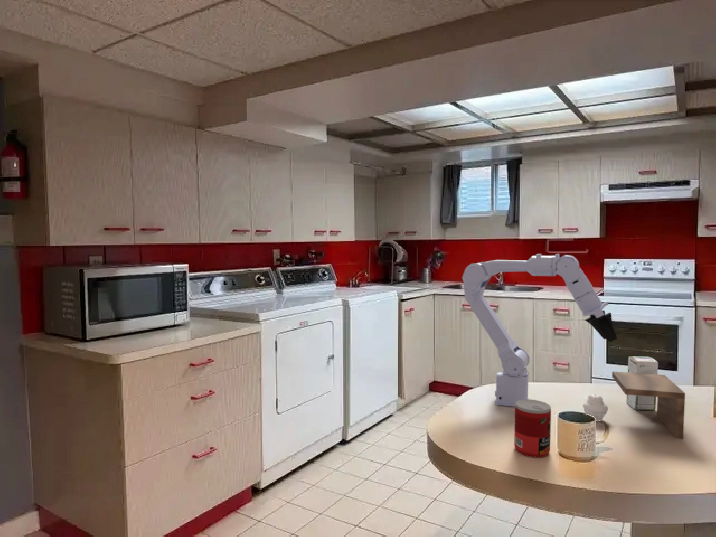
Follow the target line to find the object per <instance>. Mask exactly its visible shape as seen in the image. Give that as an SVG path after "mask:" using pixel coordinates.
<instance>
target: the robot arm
mask: <svg viewBox="0 0 716 537" xmlns="http://www.w3.org/2000/svg"><path fill="white" fill-rule="evenodd" d="M502 272H503V273H505V272H506V273H507V272H527V273H529V274H530V275H531V276H532V277H537V276H538V277H556V276H557V275H558V276H560V277H561V278H562V279H563V281H564V283H565V287H567V289H568V291H569V292H570V295H571V296H572V298H573V300H574V301H575V303H576V305H577V306H578V308H579V310H580V312H581V315H582V316H583V317H587V316H589V317H588V318H586V319H584V321H585V322H587V323H588V324H589V325H590V326H592V327H593V328H594V329H595V331H596V332H597V333H598V334H599V336H600V337H601V338H603V340H607V342H609V343H611V342H613V341H616V340H618V338H617V333H616V331H615V328H614V324H613V321H612V313H611V312H608V313H606V311H605V310H603V309H604V308H606V306H608V305H609V303H608V302H607V301H606V302H603V303H602V300H601V298H600V297H599V296H598V294H597V292H596V290H595V289H594V287H593V286H592V283H591V282H590V280H589V279H588V277H587V275H586V274H585V273H584V271H583V270H582V269H581V267H580V263H579V260H578V258H576V257H575V256H573V255H570V254H569V255H567V254H565V255H564V254H563V255H562V256H561V257H560V253H556V254H555V255H542V253H537V254H535V255H532V256H531V257H530V258H529V259H528V260H513V259H512V260H509V259H495V260H488V261H481V262H479V261H478V262H477V263H470V264H469V265H468V266H466V267H465V269H464V271H463V275H462V278H461V279H462V280H463V288H464V298H465V300H466V302H467V304H468V305H469V307H470V308H471V310H472V312H473V313H474V315H475V317H476V318H477V319H478V321H479V323H480V324H481V326H482V327H483V329H484V330H485V332H486V333H487V335H488V337H490V339H491V340H492V343H493V344H494V346H495V347H496V350H497V355H498V357H499V359H500V361H501V367H502V369H503V370H502V371H499V372H496V376H495V378H496V379H495V380H496V381H495V385H496V387H495V390H494V397H495V404H496V405H497V406H504V407H515V402H516V401H518V400H524V399H530V398H529V372H528V370H527V366H528V365H529V364H530V355H529V354H528V352H527V351H526V350H525V349H523V348H522V347H520V345H519V343H518V342H516V341H515V340H513V338H512V337H511V335H510V334H509V333H508V332H507V331H508V330H506V328H505V326H504V325H503V323H502V322H501V321H500V319H499V317H498V316H497V314H496V313H495V311H494V310H493V308H492V307H491V305H490V304H489V302H488V300H487V299H486V297H485V296H484V292H485V290H486V287H487V284H488V282H489V281H490V280H491V278H492V277H493V276H495V275H497V274H499V273H502Z"/></svg>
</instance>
